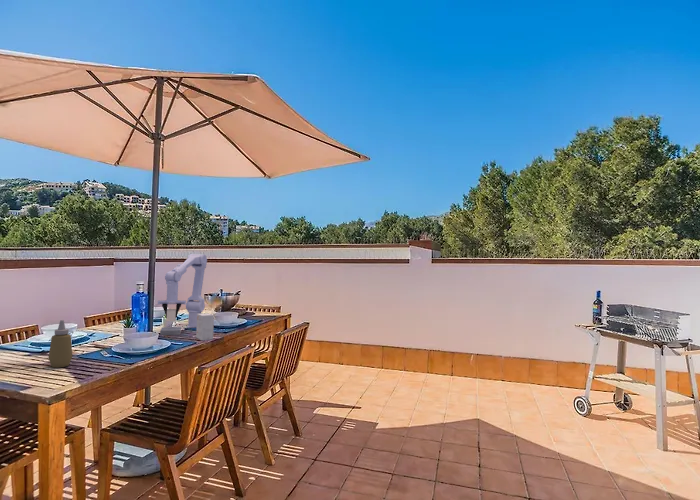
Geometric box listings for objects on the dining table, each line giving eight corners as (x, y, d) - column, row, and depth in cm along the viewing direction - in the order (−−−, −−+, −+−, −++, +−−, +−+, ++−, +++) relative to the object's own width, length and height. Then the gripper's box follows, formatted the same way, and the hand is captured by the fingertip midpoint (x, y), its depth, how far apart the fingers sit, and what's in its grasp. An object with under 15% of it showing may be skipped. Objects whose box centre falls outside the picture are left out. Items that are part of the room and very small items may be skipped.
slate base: (161, 331, 254) (162, 327, 254) (180, 331, 257) (181, 327, 257) (160, 335, 244) (160, 330, 244) (179, 334, 247) (179, 330, 247)
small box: (213, 339, 239) (214, 314, 239) (201, 340, 235) (202, 315, 235) (207, 336, 245) (208, 312, 245) (195, 337, 241) (196, 313, 241)
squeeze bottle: (45, 369, 173) (47, 322, 173) (50, 364, 180) (52, 319, 180) (70, 368, 176) (72, 321, 176) (73, 362, 183) (75, 318, 183)
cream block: (167, 320, 252) (167, 309, 252) (175, 319, 253) (176, 309, 253) (166, 321, 248) (166, 310, 248) (175, 321, 249) (175, 310, 249)
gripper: (157, 293, 245) (156, 318, 245) (185, 293, 249) (184, 318, 249) (158, 292, 251) (157, 316, 251) (186, 292, 256) (185, 316, 256)
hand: (171, 317), depth 251 cm, fingers closed on cream block, 4 cm apart
